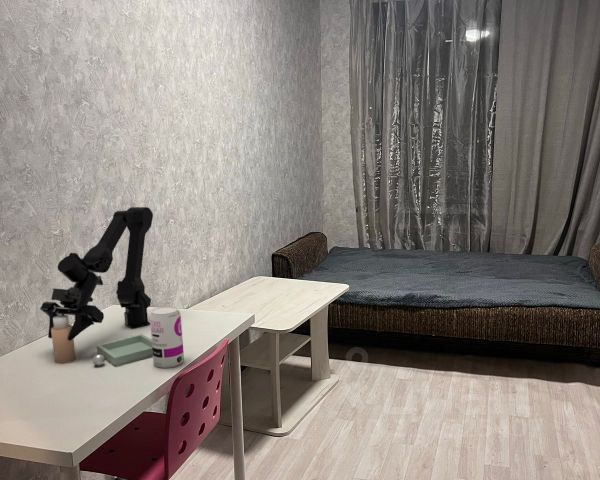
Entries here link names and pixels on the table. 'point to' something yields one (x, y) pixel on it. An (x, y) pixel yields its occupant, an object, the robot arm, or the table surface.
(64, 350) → the shaker
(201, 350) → the table surface
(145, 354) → the tray
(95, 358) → the ball
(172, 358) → the supplement can
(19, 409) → the table surface
